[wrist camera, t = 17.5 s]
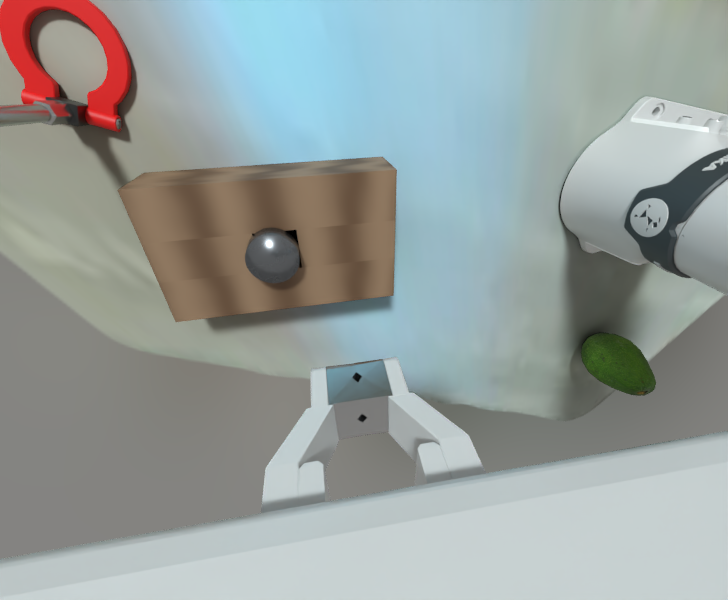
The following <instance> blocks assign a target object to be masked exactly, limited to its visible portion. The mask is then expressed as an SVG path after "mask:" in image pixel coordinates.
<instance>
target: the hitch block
mask: <svg viewBox="0 0 728 600" xmlns="http://www.w3.org/2000/svg"><path fill="white" fill-rule="evenodd" d="M396 174H397V170H396V169H395V168H394V167H393V166H392V165H391V164H390V163H389V162H388V161H387V160H385V159H384V158H383V157H372V158H357V159H342V160H328V161H313V162H298V163H283V164H269V165H254V166H239V167H224V168H209V169H195V170H180V171H165V172H150V173H143V174H142V175H140V176H138V177H137V178H135V179H134V180H132V181H131V182H129V183H128V184H126V185H125V186H123V187H121V188H120V189H118V192H119V195H120V197H121V199H122V201H123V204H124V206H125V208H126V210H127V213H128V215H129V217H130V219H131V222H132V224H133V226H134V229H135V231H136V233H137V235H138V238H139V240H140V242H141V244H142V247H143V249H144V251H145V253H146V256H147V258H148V260H149V262H150V265H151V267H152V269H153V272H154V274H155V276H156V278H157V281H158V283H159V285H160V287H161V290H162V292H163V294H164V296H165V299H166V301H167V303H168V305H169V308H170V310H171V312H172V315H173V317H174V319H175V321H176V322H180V321H189V320H197V319H205V318H213V317H221V316H230V315H238V314H246V313H254V312H262V311H270V310H279V309H287V308H295V307H303V306H311V305H319V304H328V303H336V302H344V301H352V300H360V299H369V298H377V297H385V296H393V293H394V253H395V214H396ZM264 228H279V229H282V230H285V231H287V230H296V231H297V237H298V246H299V260H300V262H299V267H298V270H297V272H296V273H295V274H294V275H293V276H292V277H291V278H290V279H288V280H286V281H284V282H280V283H268V282H264V281H261V280H259V279H257V278H256V277H255V276H253V275H252V274H251V273H250V271H249V270H248V268H247V266H246V263H245V253H246V249H247V246H248V242H249V240H250V238H251V237H252V236H253V235H254V234H255V233H256V232H257V231H259V230H261V229H264Z"/></svg>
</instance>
